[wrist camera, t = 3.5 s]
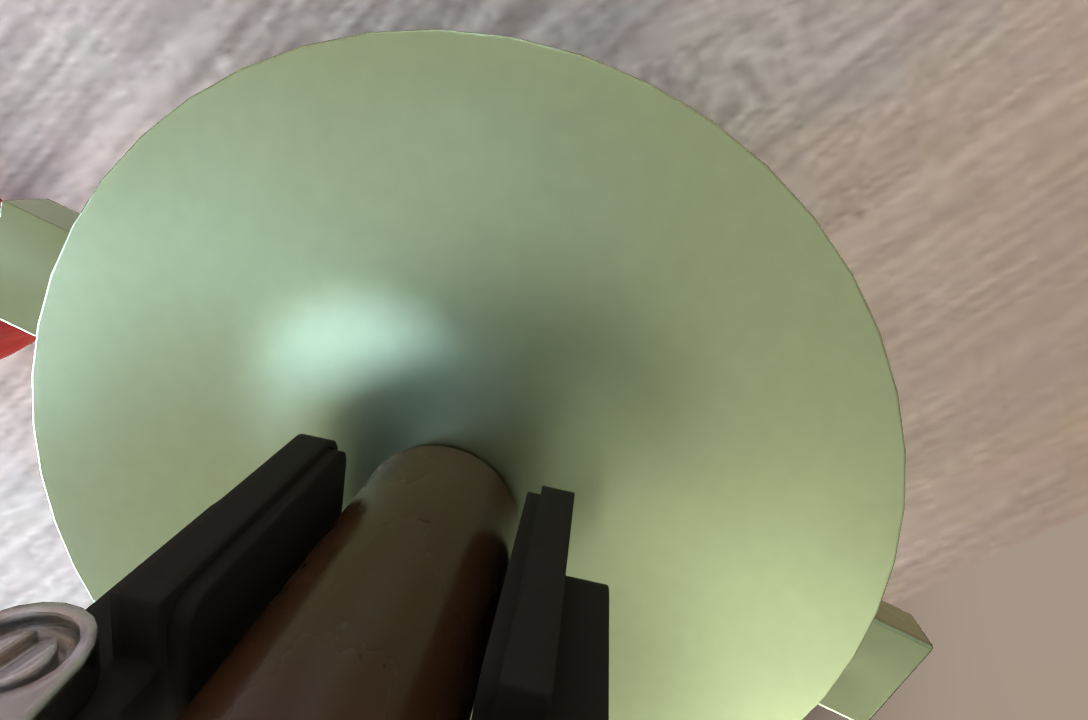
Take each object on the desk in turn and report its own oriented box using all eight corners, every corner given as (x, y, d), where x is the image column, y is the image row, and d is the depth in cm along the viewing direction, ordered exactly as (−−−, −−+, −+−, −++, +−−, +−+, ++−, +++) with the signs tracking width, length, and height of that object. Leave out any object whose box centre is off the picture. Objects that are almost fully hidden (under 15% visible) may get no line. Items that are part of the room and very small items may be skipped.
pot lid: (190, -137, 9) (-785, -855, 3) (1074, 311, 10) (1972, 578, 3) (28, 601, 14) (-463, 963, 8) (625, 873, 14) (636, 1425, 8)
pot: (326, 0, 18) (13, -190, 9) (904, 290, 19) (1204, 410, 9) (206, 398, 23) (-88, 561, 13) (676, 620, 23) (722, 928, 14)
